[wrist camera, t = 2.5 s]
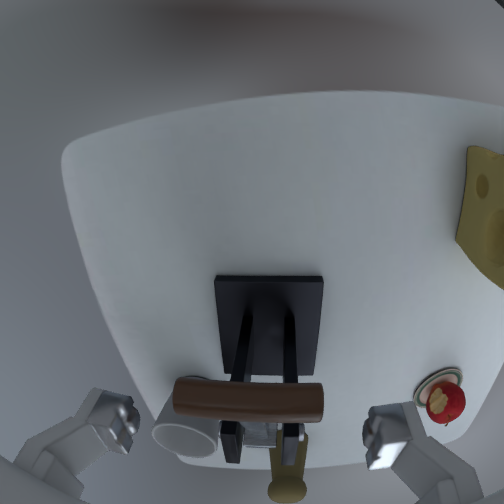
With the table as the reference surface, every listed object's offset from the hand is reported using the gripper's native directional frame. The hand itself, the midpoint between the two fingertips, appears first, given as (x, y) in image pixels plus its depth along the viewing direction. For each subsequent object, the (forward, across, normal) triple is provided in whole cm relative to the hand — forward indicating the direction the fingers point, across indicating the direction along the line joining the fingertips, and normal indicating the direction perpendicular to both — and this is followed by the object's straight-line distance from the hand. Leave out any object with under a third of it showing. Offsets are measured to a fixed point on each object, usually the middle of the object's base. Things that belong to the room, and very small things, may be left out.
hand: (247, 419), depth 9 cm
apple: (+20, -24, +22) cm, 38 cm away
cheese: (+20, -24, -4) cm, 31 cm away
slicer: (+19, 0, +10) cm, 22 cm away
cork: (+20, -3, +32) cm, 38 cm away
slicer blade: (+5, 0, +5) cm, 7 cm away
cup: (+20, +9, +22) cm, 31 cm away
